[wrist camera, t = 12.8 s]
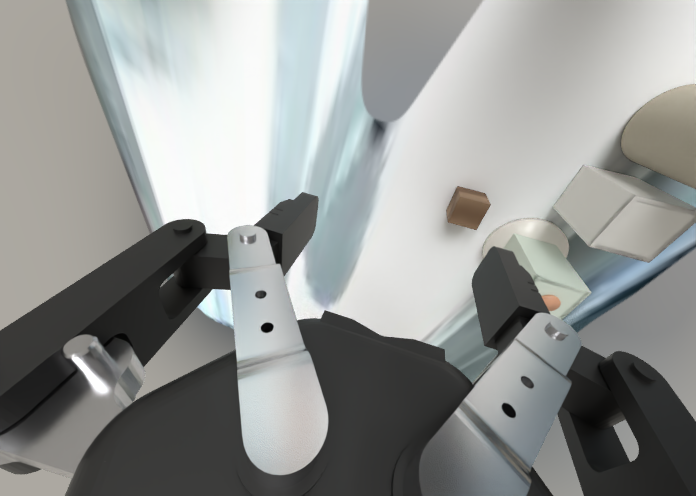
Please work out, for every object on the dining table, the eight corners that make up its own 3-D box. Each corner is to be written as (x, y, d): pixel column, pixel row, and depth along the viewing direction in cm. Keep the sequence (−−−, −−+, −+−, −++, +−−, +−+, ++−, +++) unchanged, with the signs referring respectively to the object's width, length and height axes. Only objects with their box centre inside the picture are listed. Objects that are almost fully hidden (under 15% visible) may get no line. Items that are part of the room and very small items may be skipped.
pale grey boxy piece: (514, 233, 38) (538, 278, 29) (556, 245, 37) (593, 295, 29) (492, 263, 41) (509, 312, 33) (531, 275, 41) (557, 327, 32)
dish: (504, 209, 37) (506, 212, 36) (584, 230, 36) (588, 234, 35) (470, 265, 44) (471, 270, 43) (536, 285, 43) (539, 290, 42)
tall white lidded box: (583, 164, 32) (635, 195, 24) (635, 177, 31) (706, 212, 23) (552, 207, 35) (588, 246, 27) (598, 219, 35) (649, 262, 27)
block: (457, 185, 37) (460, 196, 34) (485, 193, 37) (490, 204, 34) (446, 210, 40) (448, 222, 36) (472, 217, 39) (476, 230, 36)
